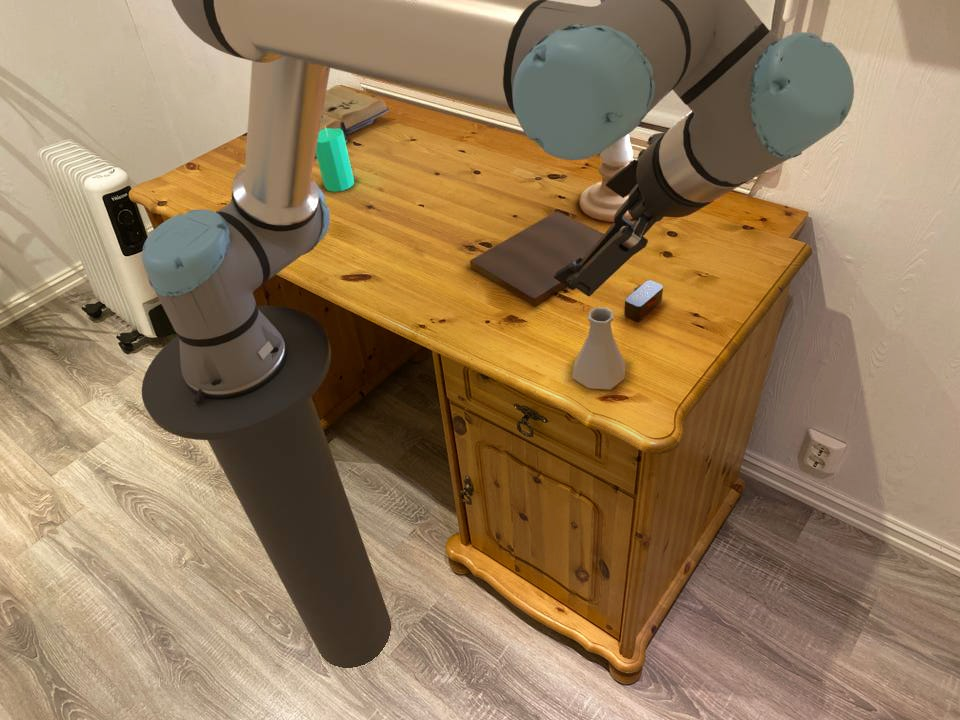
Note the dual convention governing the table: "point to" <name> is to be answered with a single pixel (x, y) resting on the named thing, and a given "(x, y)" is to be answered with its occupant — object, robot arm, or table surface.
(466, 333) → the table surface
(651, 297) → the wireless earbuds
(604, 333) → the flask
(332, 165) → the candle
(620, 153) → the candle holder
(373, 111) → the book
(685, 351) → the table surface
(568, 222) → the walnut board
